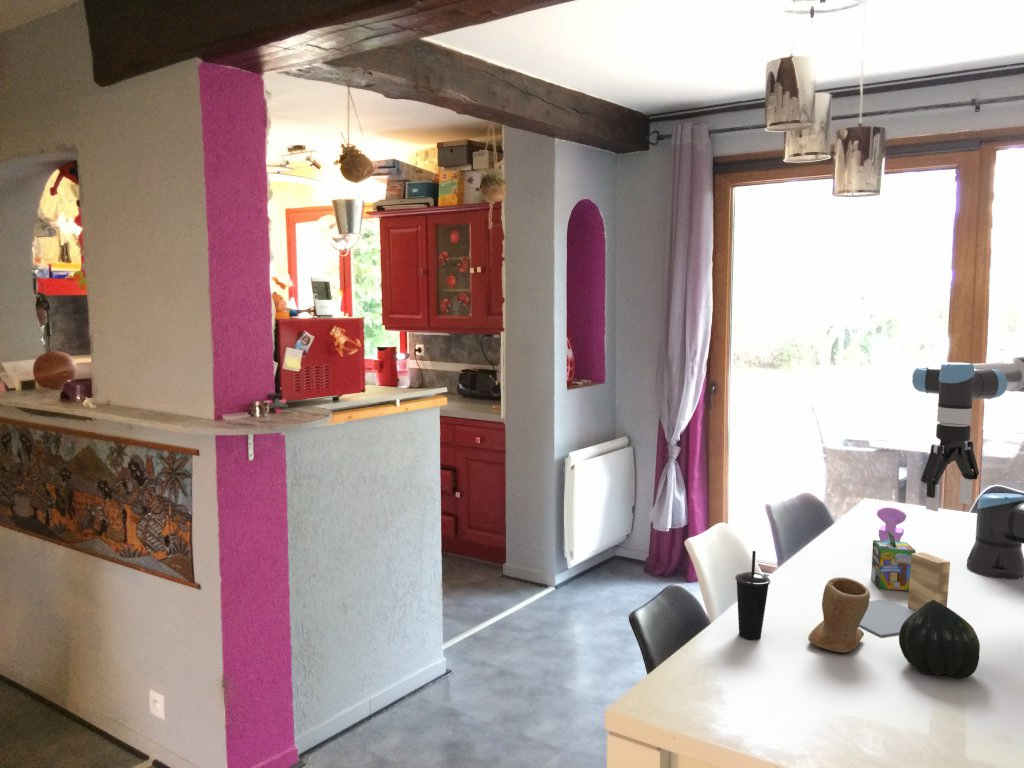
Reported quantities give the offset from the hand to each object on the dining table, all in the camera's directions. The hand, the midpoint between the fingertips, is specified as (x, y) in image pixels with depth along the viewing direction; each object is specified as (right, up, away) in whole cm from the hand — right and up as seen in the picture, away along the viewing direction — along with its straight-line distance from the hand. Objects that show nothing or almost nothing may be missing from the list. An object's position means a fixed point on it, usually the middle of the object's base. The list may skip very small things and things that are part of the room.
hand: (948, 506), depth 202 cm
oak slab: (-6, -26, -1) cm, 27 cm away
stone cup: (-37, -28, -22) cm, 51 cm away
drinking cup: (-56, -27, -19) cm, 65 cm away
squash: (-21, -29, -34) cm, 50 cm away
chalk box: (-6, -25, +18) cm, 31 cm away
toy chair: (+8, -22, +49) cm, 54 cm away
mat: (-19, -27, -6) cm, 33 cm away
